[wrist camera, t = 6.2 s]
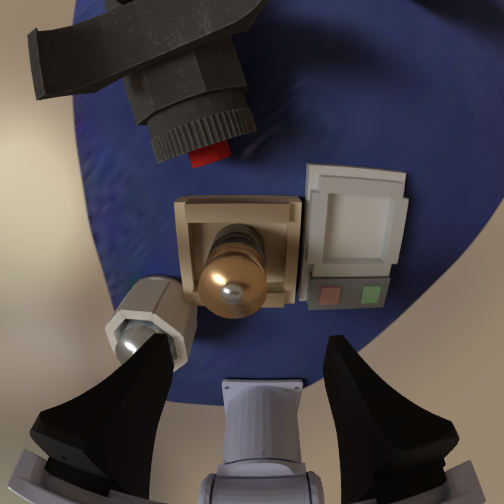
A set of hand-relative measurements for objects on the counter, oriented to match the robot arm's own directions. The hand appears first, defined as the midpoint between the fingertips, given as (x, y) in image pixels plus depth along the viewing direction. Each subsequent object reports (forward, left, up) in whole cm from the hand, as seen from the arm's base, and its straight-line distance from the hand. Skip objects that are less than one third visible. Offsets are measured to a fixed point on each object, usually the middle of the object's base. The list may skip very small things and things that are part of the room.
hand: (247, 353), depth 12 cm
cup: (-4, +7, -10) cm, 13 cm away
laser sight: (+18, +5, -10) cm, 22 cm away
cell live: (+1, +1, -9) cm, 9 cm away
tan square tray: (+1, +1, -10) cm, 10 cm away
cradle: (+3, -7, -10) cm, 12 cm away
